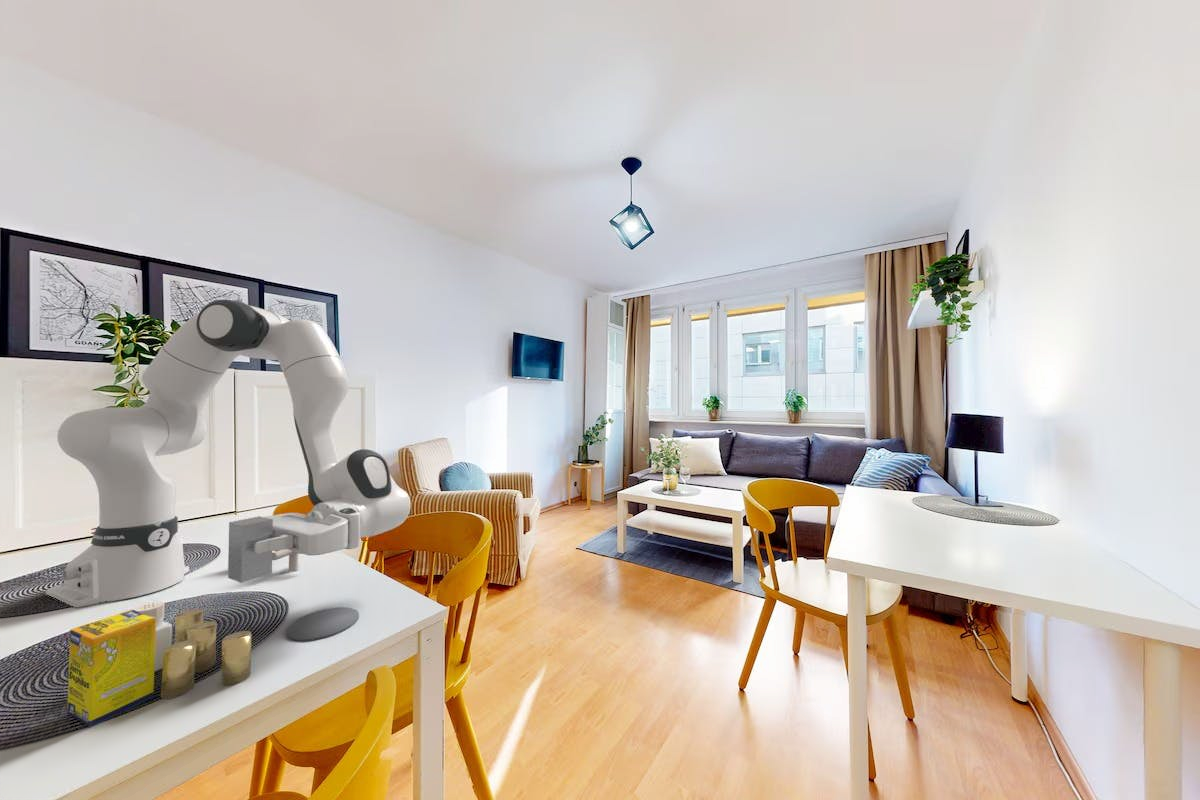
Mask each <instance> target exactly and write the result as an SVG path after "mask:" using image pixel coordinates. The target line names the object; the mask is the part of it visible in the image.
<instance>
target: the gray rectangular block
mask: <svg viewBox="0 0 1200 800" xmlns="http://www.w3.org/2000/svg"><path fill="white" fill-rule="evenodd" d="M265 517H266V516H254V517H249V518H244V519H243V518H242V519H239V520H233V521H230V522H228V556H227V557H228V558H227V559H228V560H227V561H228V563H227V566H228V567H227V568H228V569H227V578H228V579H230V580H232V581H236V582H238V583H239V584H240V583H241V584H242V583H245V582H249V581H251V580H252V581H253V580H255V579H258V578H263V577H265V576H267V575H272V574H273V560H272V553H273V551H266V552H263V553H255V552H252V551H251V548H252V547H251V544H252V542H254V541H257V540H261V539H271V538H273V519H269V518H265Z"/></svg>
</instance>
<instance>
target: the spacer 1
mask: <svg viewBox="0 0 1200 800" xmlns="http://www.w3.org/2000/svg"><path fill="white" fill-rule="evenodd" d="M174 620H175V623H174V624H175V625H174V627H175V628H174V629H175V630H174V644H175V643H178V642H182V641H187V630H188V629H189V628H190V627H192V626H194V625H197V624H200V623H204V609H203V608H193V609H189V610H188V609H187V610H185V611H182V612H180V613H178V614H177V615H175V618H174Z"/></svg>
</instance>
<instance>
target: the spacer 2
mask: <svg viewBox="0 0 1200 800" xmlns="http://www.w3.org/2000/svg"><path fill="white" fill-rule="evenodd" d="M251 662H252V632H251V631H249V630H241V631H237V632H234V633H231V634H229V635H226V636H225V637H223V638H222V640H221V671H220V672H221V673H220V675H221V678H220V680H221V682H220V684H221V686H223V687H229V686H235V685H238V684H241V683H243V682H245V681H246V680H248V679H249V677H250V676H251V674H252V673H251V672H252V671H251V669H252V663H251Z"/></svg>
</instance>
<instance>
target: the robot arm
mask: <svg viewBox="0 0 1200 800" xmlns="http://www.w3.org/2000/svg"><path fill="white" fill-rule="evenodd" d="M239 356H242V357H247V358H251V359H261V360H267V361H271V362H277V363H279V365H280V369H281V371H282V373H283V375H284V379H285V380H286V383H287V386H288V387H287V388H288V390H289V393H290V397H291V403H292V409H293V411H292V412H293V421H294V425H295V430H296V434H297V437H298V440H299V445H300V448H301V451H302V456H303V458H304V461H305V465H306V469H307V473H308V474H307V475H308V481H307V482H308V485H307V494H308V498H309V500H310V503H311V504H312V505H313V507H312V509H311V511H309V512H308V513H307V514H305V513H299V512H287V513H286V512H285V513H279V514H273V515H267V516H266V515H265V516H264V517H265V518H269V519H273V538H271V539H261V540H257V541H254V542H252V544H251V547H252V548H251V551H252V552H255V553H263V552H266V551H272V552H276V551H275V550H285V549H288V550H291V551H295V552H298V553H302V555H305V556H321V555H326V554H329V553H334V552H337V551H341V550H353V549H357V548H359V546H360V542H361V541H360V540H361V538H365V537H366V538H370V537H375V536H377V535H380V534H383V533H385V532H388V531H391V530H393V529H396V528H397V527H399V526H400V525H402V524H403V523H404V522H405V521H406V519H407V518H408V516H409V514H410V511H411V506H412V505H411V504H412V503H411V499H410V495H409V494H408V492H407V491H406V490H404V489H403V488H401V487H400V486H399V485H398V484H397V482H396V481H395V480H394V479H393V476H392V475H391V473H390V469H389V465H388V463H387V461H386V459H385V458H384V457H383V456H382V454H380V453H378V452H376V451H374V450H371V449H367V448H366V449H363V448H362V449H357V450H355V451H353V452H352V453H350V454H348V455H347V456H345V457H344V458H342V459H341V460H340V458H339V454H338V451H337V447H336V444H335V440H334V438H333V437H334V436H333V434H332V426H333V421H334V418H335V415H336V413H337V412H338V409H339V407H340V406H341V404H342V402H343V401H344V400H345V397H346V396H347V393H348V390H349V386H350V385H349V377H348V373H347V370H346V367H345V365H344V362H343V360H342V358H341V356H340V354H339V352H338V350H337V348H336V346H335V345H334V343H333V341H332V340H331V337H330V336H329V335H328V333H327V332H326V331H325V330H324V328H323V327H322V326H321V325H320V324H318V323H317V322H315V321H313V320H309V319H305V318H304V319H302V318H299V319H291V318H287V317H285V316H282V315H281V314H279V313H276V312H274V311H271V310H268V309H265V308H264V309H263V308H261V307H257V306H253V305H249V304H247V303H244V302H241V301H237V300H231V299H216V300H213V301H210V302H208V303H207V304H206V305H204V306H203V307H202V308H201V310H200V311H199V313H196V314H194V315H193V316H191V317H190V318H189V319H188V320H186V321H185V323H184V322H183V324H182V325H181V326H180V327H178V329H176V331H175V332H173V334H172V335H171V336H170V337H169V338H168V340H167V341H166V342H165V343H164V344H163V346H162V347H161V349H159V351H158V353H156V355H155V357H153V359H152V360H151V361H150V363H149V365H148V366H147V367H146V368H145V370H144V371H143V373H142V375H141V381H142V384H143V385H144V387H145V388H146V390H148V391H149V394H148V396H147V397H148V398H147V400H146V401H145V403H144V404H142V405H141V406H138V407H103V408H97V409H96V408H95V409H90V410H85V411H80V412H77V413H73V414H71V415H70V416H68V417H67V418H66V419H64V421H63V422H62V423H61V425H59V429H58V430H57V437H56V438H57V442H58V446H59V447H60V449H61V450H62V452H63V453H65V454H66V455H67V456H68V457H70V458H72V459H74V460H76V461H78V462H79V463H81V464H82V465H83V466H85V468H86V469H87V470H88V471H89V473H90V474H91V476H92V478H93V480H94V482H95V484H96V487H97V491H98V501H99V503H98V504H99V506H98V507H99V512H98V513H99V514H98V515H99V517H98V519H99V522H98V523H99V525H98V526H97V527H94V528H93V527H92V528H91V531H93V530H95V531H93V532H91V533H90V534H91V535H92V539H91V542H90V543H91V545H90V546H88V547H87V548H86V549H85V550H84V551H82V552H81V553H80V554H78V555H77V556H75V558H73V559H72V560H71V561H69V562H68V563H67V565H66V567H65V569H63V570H62V572H61V578H62V580H63V581H64V582H63V583H60V584H58V585H54V586H52V587H50V588H48V589H46V591H45V595H46V594H47V595H49V596H51V597H54V598H56V599H58V600H60V601H59V602H61V601H62V602H61V603H63V602H65V603H66V605H68V604H69V605H68V606H70V605H71V606H70V607H72V606H73V607H72V608H80V607H87V606H91V605H95V603H96V604H100V603H99V602H101V603H105V601H107V602H114V601H121V600H125V599H131V598H135V597H136V598H137V597H141V596H143V595H148V594H152V593H154V592H158V591H161V590H164V589H166V588H170V587H172V586H175V585H176V584H178V583H179V582H181V581H183V580H184V579H185V575H186V574H188V573H189V572H190V566H189V565H187V566H186V565H185V559H184V547H183V541H182V538H181V537H179V536H177V533H178V530H179V529H178V528H179V521H178V519H179V517H178V516H177V515H176V497H177V495H176V494H177V493H176V492H177V490H176V489H177V486H176V483H175V482H174V480H173V479H172V478H171V477H169V476H166V475H164V474H162V472H161V471H160V469H159V468H158V466H157V463H156V460H155V457H157V456H159V457H160V456H166V455H175V454H178V453H181V452H184V451H188V450H190V449H193V448H195V447H197V446H199V445H200V444H201V443H202V442H203V441H204V440H205V438H206V435H207V431H208V430H207V429H208V428H207V424H206V422H205V419H204V418H203V417H202V415H203V409H204V406H205V404H206V402H207V399H208V397H209V396H210V395H211V393H212V391H213V389H214V388H215V387H216V385H217V384H218V383H219V381H220V380H221V378H222V377H223V375H224V374H225V373H226V372H227V370H228V369H229V367H230V366H231V364H232V363H233V362H234V361H235V359H236V358H238V357H239ZM47 595H46V596H47ZM49 596H48V597H49ZM51 597H50V598H51ZM54 598H53V599H54ZM56 599H55V600H56ZM58 600H57V601H58ZM65 603H64V604H65Z"/></svg>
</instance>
